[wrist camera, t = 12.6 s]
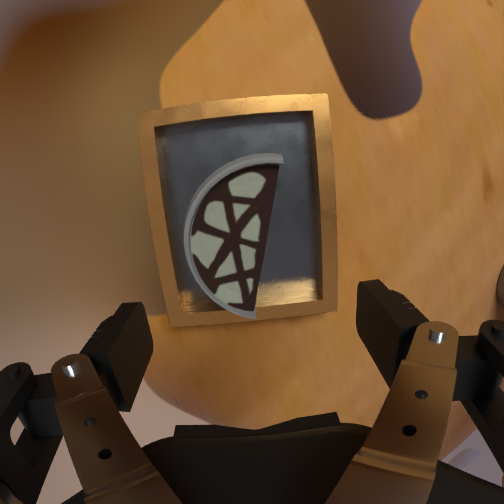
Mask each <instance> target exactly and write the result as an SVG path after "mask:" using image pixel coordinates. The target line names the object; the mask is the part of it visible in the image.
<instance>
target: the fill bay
mask: <svg viewBox="0 0 504 504" xmlns="http://www.w3.org/2000/svg"><path fill="white" fill-rule="evenodd" d="M137 124H138V135H139V144H140V153H141V161H142V170H143V177H144V185H145V192H146V199H147V206H148V212H149V218H150V225H151V231H152V237H153V243H154V248H155V253H156V259H157V264H158V269H159V275H160V280H161V285H162V289H163V294H164V299H165V303H166V308H167V312H168V317H169V321H170V326H171V327H185V326H200V325H213V324H225V323H237V322H247V321H258V320H267V319H277V318H286V317H294V316H303V315H311V314H319V313H326V312H333V311H337V291H338V262H337V216H336V193H335V175H334V159H333V146H332V134H331V123H330V112H329V103H328V94H298V95H276V96H261V97H248V98H238V99H228V100H219V101H211V102H203V103H196V104H189V105H183V106H176V107H170V108H165V109H159V110H154V111H148V112H143V113H138V114H137ZM262 153H274V154H282V156H283V162H284V164H282V165H280V166H279V172H278V178H277V184H276V190H275V196H274V202H273V208H272V213H271V219H270V224H269V231H268V237H267V243H266V248H265V254H264V259H263V264H262V269H261V275H260V280H259V286H258V291H257V297H256V304H255V308H256V319H252V318H247V317H243V316H240V315H237V314H235V313H232V312H230V311H229V310H227V309H225V308H223V307H222V306H220V305H219V304H217V303H216V302H215V301H213V300H212V299H211V298H210V297H209V296H208V295H207V294H206V293H205V292H204V291H203V290H202V289H201V287H200V286H199V285H198V283H197V282H196V280H195V279H194V277H193V275H192V273H191V271H190V269H189V265H188V262H187V259H186V255H185V248H184V241H183V226H184V221H185V216H186V212H187V209H188V207H189V204H190V201H191V200H192V198H193V196H194V194H195V193H196V191H197V189H198V188H199V187H200V186H201V184H202V183H203V182H204V181H205V179H206V178H208V177H209V176H210V175H211V174H212V173H213V172H214V171H216V170H217V169H219V168H220V167H222V166H223V165H225V164H227V163H228V162H231V161H233V160H235V159H238V158H240V157H244V156H248V155H252V154H262Z"/></svg>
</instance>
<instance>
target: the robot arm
mask: <svg viewBox="0 0 504 504" xmlns="http://www.w3.org/2000/svg"><path fill="white" fill-rule="evenodd" d="M497 295H498V299H499V301H500V303H501V304H502V305H503V306H504V268H503V270H502V272H501V275H500V277H499V281H498V288H497ZM356 327H357V332H358V334H359V336H360V338H361V340H362V341H363V343H364V345H365V347H366V348H367V350H368V352H369V353H370V355H371V357H372V359H373V360H374V362H375V364H376V366H377V367H378V369H379V371H380V373H381V374H382V376H383V378H384V380H385V381H386V383H387V385H388V387H389V389H390V390H389V392H388V395H387V397H386V399H385V401H384V404H383V406H382V408H381V410H380V412H379V414H378V416H377V418H376V420H375V423H374V425H373V427H372V428H371V427H368V426H364V425H359V424H353V423H340V421H339V418H338V415H337V412H332V413H326V414H320V415H314V416H307V417H300V418H295V419H292V420H289V421H286V422H282V423H279V424H276V425H272V426H269V427H265V428H262V429H257V430H251V429H242V428H234V427H227V426H220V425H176V426H175V431H174V436H172V437H167V438H164V439H160V440H157V441H155V442H152V443H150V444H148V445H145V446H144V447H142V448H141V447H140V446H139V444H138V442H137V441H136V439H135V438H134V436H133V434H132V433H131V431H130V429H129V428H128V426H127V425H126V423H125V421H124V420H123V418H122V416H121V414H120V413H119V411H123V412H130V410H131V408H132V405H133V402H134V400H135V397H136V394H137V392H138V389H139V386H140V384H141V381H142V379H143V376H144V374H145V371H146V368H147V366H148V363H149V361H150V358H151V356H152V353H153V339H152V335H151V331H150V327H149V324H148V320H147V316H146V312H145V308H144V305H143V304H142V302H130V303H122V304H121V305H120V306H119V308H118V309H117V311H116V312H115V314H114V315H113V316H110V317H109V318H107V319H106V320H104V321H103V322H102V323H101V324H100V325H99V327H98V328H97V329H96V331H95V332H94V334H93V335H92V338H90V339H89V340H88V342H87V343H86V344H85V346H84V347H83V349H82V350H81V352H80V353H79V354H71V355H67V356H65V357H63V358H61V359H60V360H58V361H57V362H55V364H54V365H53V366H52V368H51V373H46V374H40V375H34V374H33V372H32V370H31V367H30V365H29V364H27V363H24V362H18V363H14V364H11V365H9V366H7V367H5V368H4V369H3V370H2V371H0V504H36V502H37V500H38V497H39V494H40V492H41V489H42V486H43V484H44V481H45V478H46V476H47V473H48V471H49V468H50V466H51V463H52V461H53V459H54V456H55V454H56V451H57V449H58V447H59V444H60V442H61V439H62V437H63V436H64V439H65V442H66V445H67V448H68V451H69V454H70V456H71V459H72V462H73V465H74V467H75V470H76V473H77V475H78V478H79V480H80V483H81V485H82V488H83V490H81V491H80V492H78V493H77V494H75V495H74V496H72V497H71V498H70V499H68V500H66V501H65V502H63V503H61V504H504V474H503V477H502V487H501V486H498V485H496V484H493V483H491V482H488V481H486V480H483V479H481V478H478V477H476V476H474V475H471V474H469V473H467V472H464V471H462V470H460V469H457V468H455V467H453V466H451V465H449V464H446V463H444V462H442V461H440V460H438V458H439V454H440V451H441V447H442V443H443V439H444V435H445V431H446V427H447V423H448V418H449V413H450V409H451V404H452V401H461V403H462V404H463V406H464V407H465V409H466V410H467V412H468V414H469V415H470V417H471V418H472V420H473V422H474V423H475V425H476V426H477V428H478V430H479V431H480V433H481V434H482V436H483V438H484V440H485V441H486V443H487V445H488V446H489V448H490V450H491V452H492V453H493V455H494V457H495V459H496V460H497V462H498V464H499V466H500V467H501V469H502V471H503V473H504V392H503V391H502V390H501V388H500V387H499V386H500V383H501V381H502V378H503V377H504V321H500V320H488V321H485V322H483V323H482V324H481V326H480V329H479V333H478V335H477V336H459V334H458V331H457V330H456V329H455V328H454V327H453V326H451V325H449V324H447V323H444V322H438V321H429V320H428V319H427V318H426V317H425V316H424V315H423V314H422V313H421V312H420V311H419V310H418V309H417V308H415V306H414V305H413V304H412V303H410V301H409V300H408V299H407V298H406V297H405V296H404V295H403V294H400V293H398V292H396V291H394V290H389V289H388V288H387V287H386V286H385V285H384V284H383V283H382V282H381V281H380V280H379V279H376V280H369V281H361V282H359V284H358V289H357V310H356ZM17 417H18V418H19V419H20V421H21V422H22V424H23V426H24V427H25V428H24V430H23V432H22V433H21V435H20V437H19V439H18V441H17V443H16V445H14V444H13V442H12V440H11V437H10V429H11V427H12V425H13V423H14V422H15V420H16V418H17Z"/></svg>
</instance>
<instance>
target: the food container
mask: <svg viewBox="0 0 504 504" xmlns="http://www.w3.org/2000/svg"><path fill="white" fill-rule="evenodd" d="M282 164H284V162H283V156H282V154H274V153H262V154H252V155H248V156H244V157H240V158H238V159H235V160H233V161H231V162H228V163H227V164H225V165H223V166H222V167H220V168H219V169H217V170H216V171H214V172H213V173H212V174H211V175H210V176H209V177H208V178H206V179H205V181H204V182H203V183H202V184H201V186H200V187H199V188H198V189H197V191H196V193H195V194H194V196H193V198H192V200H191V201H190V204H189V207H188V209H187V212H186V216H185V221H184V226H183V241H184V248H185V255H186V259H187V262H188V265H189V269H190V271H191V273H192V275H193V277H194V279H195V280H196V282H197V283H198V285H199V286H200V287H201V289H202V290H203V291H204V292H205V293H206V294H207V295H208V296H209V297H210V298H211V299H212V300H213V301H215V302H216V303H217V304H219V305H220V306H222V307H223V308H225V309H227V310H229V311H230V312H232V313H235V314H237V315H240V316H243V317H247V318H252V319H256V308H255V304H256V297H257V291H258V286H259V280H260V275H261V269H262V264H263V259H264V254H265V248H266V243H267V237H268V231H269V224H270V219H271V213H272V208H273V202H274V196H275V190H276V184H277V178H278V172H279V166H280V165H282Z"/></svg>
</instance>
